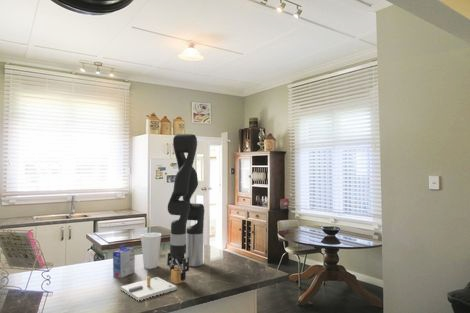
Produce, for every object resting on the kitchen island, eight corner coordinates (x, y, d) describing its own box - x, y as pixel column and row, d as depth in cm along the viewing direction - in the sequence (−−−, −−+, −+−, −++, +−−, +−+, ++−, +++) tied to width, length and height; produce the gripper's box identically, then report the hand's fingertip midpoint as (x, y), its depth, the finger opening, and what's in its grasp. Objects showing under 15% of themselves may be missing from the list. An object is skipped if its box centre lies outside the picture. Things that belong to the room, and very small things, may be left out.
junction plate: (120, 290, 142) (120, 277, 142) (157, 280, 154) (157, 268, 154) (138, 301, 130) (138, 287, 130) (176, 289, 143) (176, 277, 143)
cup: (136, 268, 171) (136, 235, 172) (148, 262, 181) (148, 231, 181) (153, 271, 167) (154, 237, 168) (165, 265, 177) (165, 233, 177)
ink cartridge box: (126, 270, 167) (127, 242, 167) (135, 272, 165) (135, 243, 165) (112, 276, 158) (112, 246, 158) (120, 278, 156) (121, 248, 156)
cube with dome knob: (170, 281, 153) (171, 267, 153) (178, 279, 156) (178, 265, 156) (176, 284, 149) (176, 269, 150) (184, 281, 152) (184, 267, 153)
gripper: (163, 241, 155) (162, 276, 155) (180, 247, 145) (179, 283, 144) (176, 239, 161) (175, 272, 160) (193, 244, 150) (193, 280, 150)
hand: (177, 277), depth 152 cm, fingers open, 8 cm apart
